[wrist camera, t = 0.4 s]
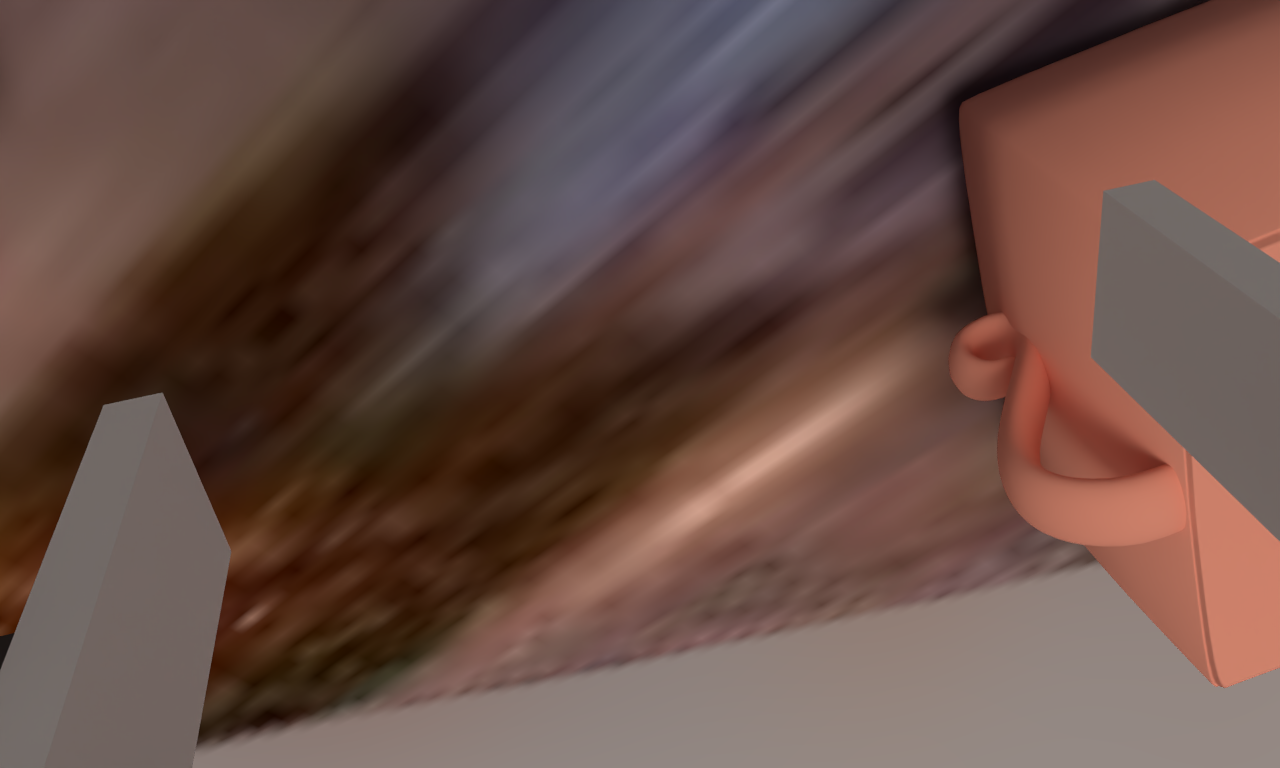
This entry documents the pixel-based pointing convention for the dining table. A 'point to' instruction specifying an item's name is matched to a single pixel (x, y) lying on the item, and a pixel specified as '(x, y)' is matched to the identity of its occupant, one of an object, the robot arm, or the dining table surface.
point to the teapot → (1065, 299)
